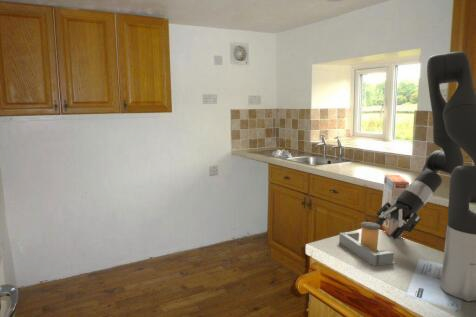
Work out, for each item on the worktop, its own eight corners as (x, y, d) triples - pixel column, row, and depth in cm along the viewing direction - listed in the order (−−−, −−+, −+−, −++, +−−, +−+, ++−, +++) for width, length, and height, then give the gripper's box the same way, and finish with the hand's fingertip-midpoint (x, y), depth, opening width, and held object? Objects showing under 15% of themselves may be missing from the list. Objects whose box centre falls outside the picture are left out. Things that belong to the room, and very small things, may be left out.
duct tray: (396, 263, 105) (397, 252, 105) (373, 266, 103) (374, 255, 102) (358, 240, 123) (359, 230, 122) (339, 242, 120) (339, 232, 120)
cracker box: (404, 237, 126) (409, 182, 123) (387, 236, 127) (392, 181, 124) (395, 224, 140) (400, 174, 136) (379, 223, 141) (384, 173, 138)
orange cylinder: (382, 253, 111) (384, 227, 110) (366, 255, 109) (368, 228, 108) (370, 246, 117) (372, 221, 115) (355, 248, 115) (357, 222, 114)
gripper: (393, 185, 121) (363, 218, 119) (426, 195, 107) (392, 233, 106) (404, 198, 123) (375, 231, 122) (437, 210, 110) (405, 248, 108)
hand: (383, 232), depth 114 cm, fingers open, 8 cm apart
